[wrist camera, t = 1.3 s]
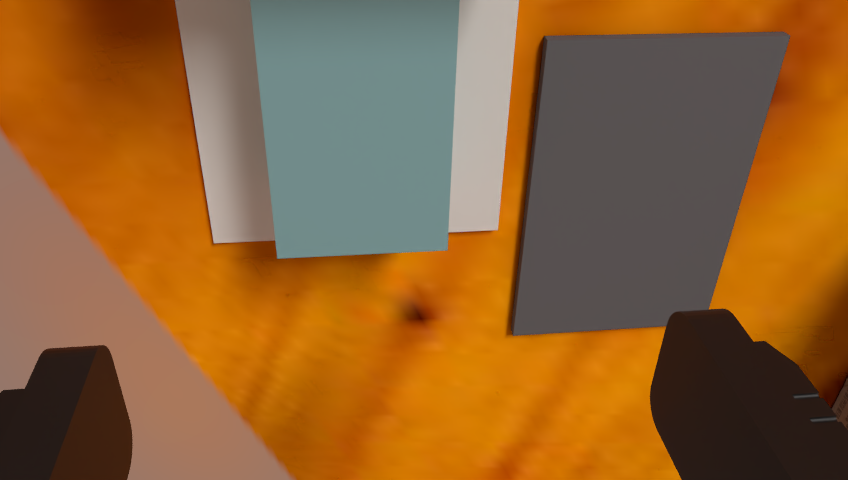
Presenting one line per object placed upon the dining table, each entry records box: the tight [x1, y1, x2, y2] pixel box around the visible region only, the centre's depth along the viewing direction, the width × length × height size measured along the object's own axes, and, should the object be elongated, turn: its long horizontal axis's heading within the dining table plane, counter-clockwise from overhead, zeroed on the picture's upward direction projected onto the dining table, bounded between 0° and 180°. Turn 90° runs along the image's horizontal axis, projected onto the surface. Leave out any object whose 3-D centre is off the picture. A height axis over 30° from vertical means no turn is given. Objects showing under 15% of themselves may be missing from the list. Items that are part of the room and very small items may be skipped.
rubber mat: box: [511, 32, 790, 336], centre depth 27 cm, size 12×8×1 cm, turn 179°
